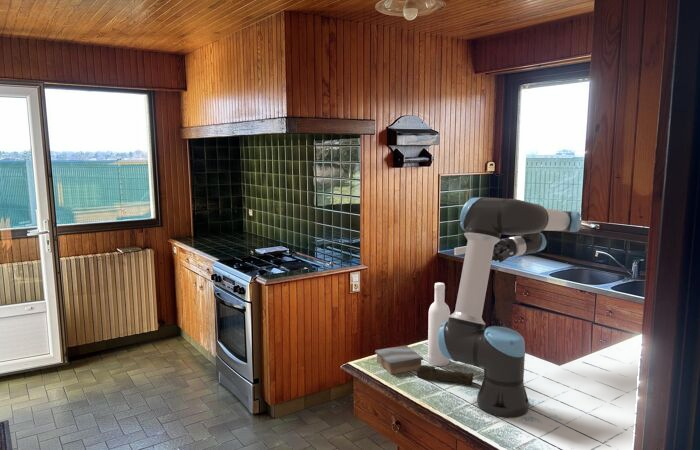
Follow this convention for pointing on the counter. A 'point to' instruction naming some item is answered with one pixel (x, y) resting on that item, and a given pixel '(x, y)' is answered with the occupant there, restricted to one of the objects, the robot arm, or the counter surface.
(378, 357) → the slate stand
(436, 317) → the bottle
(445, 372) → the hand tool
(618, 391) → the counter surface
